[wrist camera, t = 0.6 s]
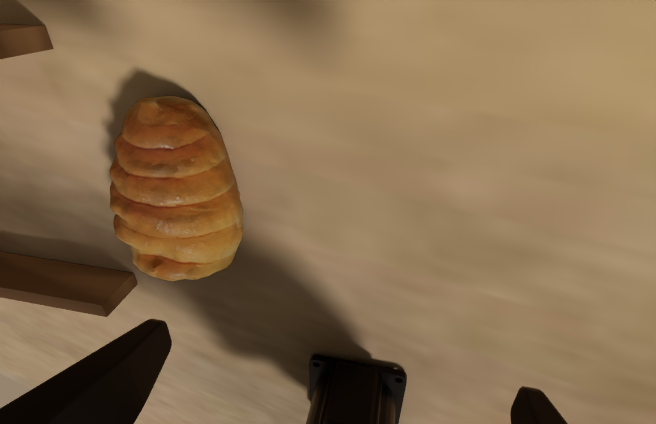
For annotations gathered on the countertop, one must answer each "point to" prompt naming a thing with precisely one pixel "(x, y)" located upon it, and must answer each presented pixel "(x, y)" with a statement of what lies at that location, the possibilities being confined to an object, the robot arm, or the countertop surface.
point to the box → (43, 274)
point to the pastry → (175, 191)
